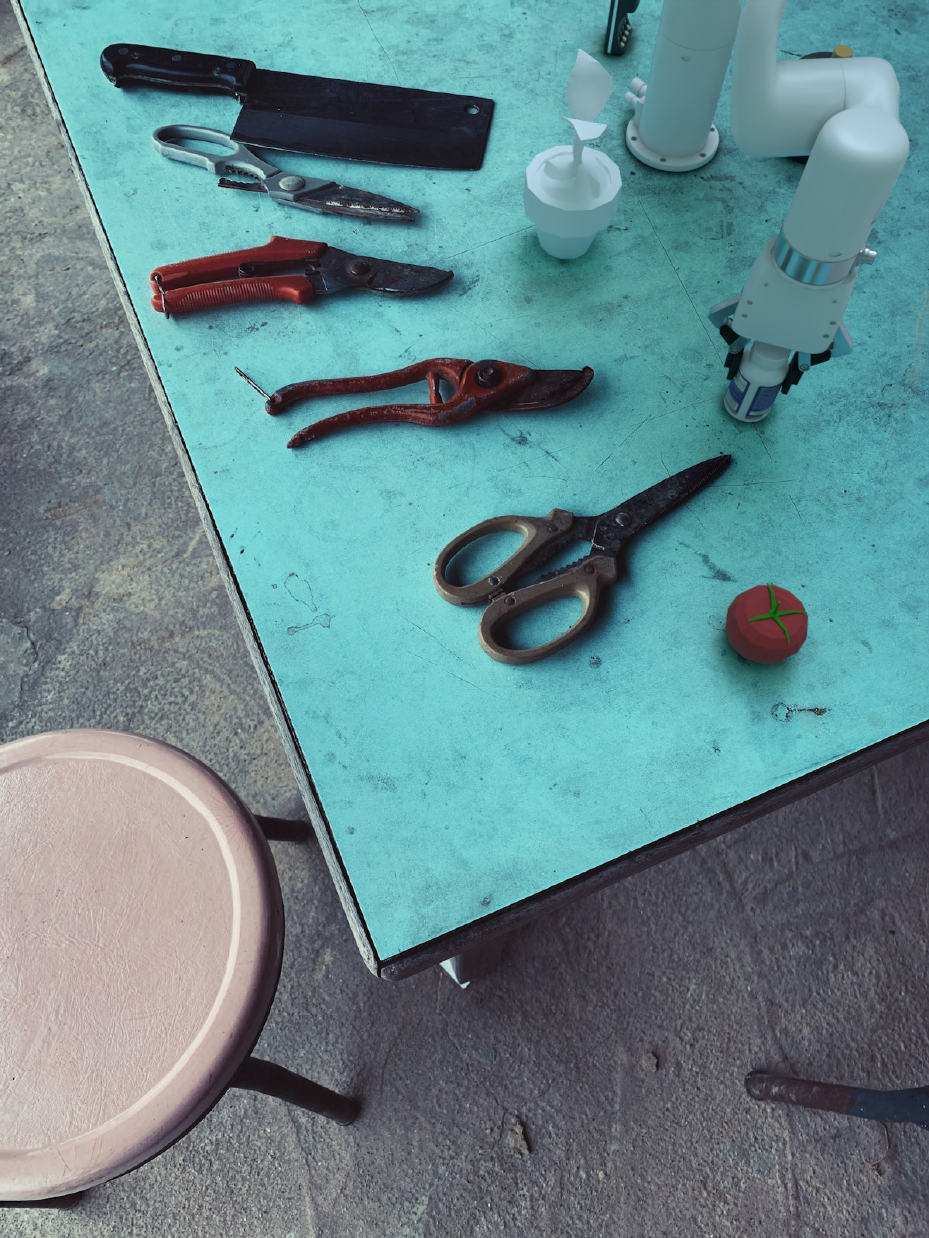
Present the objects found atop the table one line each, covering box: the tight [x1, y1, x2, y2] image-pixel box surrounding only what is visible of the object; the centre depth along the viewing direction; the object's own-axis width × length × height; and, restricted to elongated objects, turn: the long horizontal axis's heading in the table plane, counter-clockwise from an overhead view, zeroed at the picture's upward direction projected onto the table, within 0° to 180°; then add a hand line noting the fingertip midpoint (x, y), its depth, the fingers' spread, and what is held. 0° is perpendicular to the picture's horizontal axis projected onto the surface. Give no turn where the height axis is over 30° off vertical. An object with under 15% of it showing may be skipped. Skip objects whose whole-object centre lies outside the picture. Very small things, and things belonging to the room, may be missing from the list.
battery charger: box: [603, 0, 641, 55], centre depth 131 cm, size 7×4×11 cm, turn 163°
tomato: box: [724, 582, 809, 665], centre depth 91 cm, size 8×8×8 cm
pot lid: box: [799, 44, 854, 59], centre depth 118 cm, size 11×11×5 cm
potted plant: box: [523, 43, 623, 260], centre depth 107 cm, size 13×12×25 cm
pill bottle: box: [723, 340, 792, 423], centre depth 103 cm, size 5×5×10 cm
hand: (758, 376), depth 103 cm, fingers closed on pill bottle, 5 cm apart
